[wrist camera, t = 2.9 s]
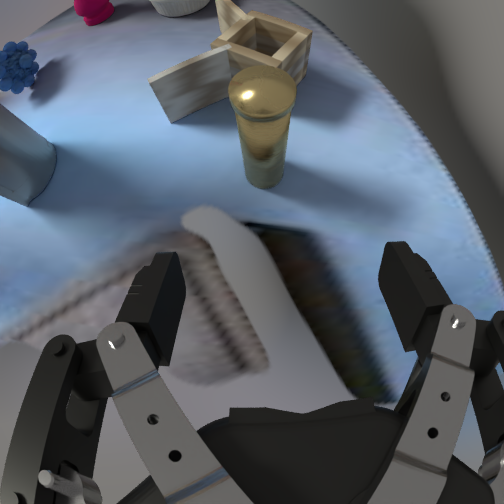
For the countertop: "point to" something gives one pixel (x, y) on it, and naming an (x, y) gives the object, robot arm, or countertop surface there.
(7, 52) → the grapes
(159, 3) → the ramekin
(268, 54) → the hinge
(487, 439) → the robot arm
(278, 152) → the brass peg
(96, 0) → the pepper mill
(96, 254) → the countertop surface
